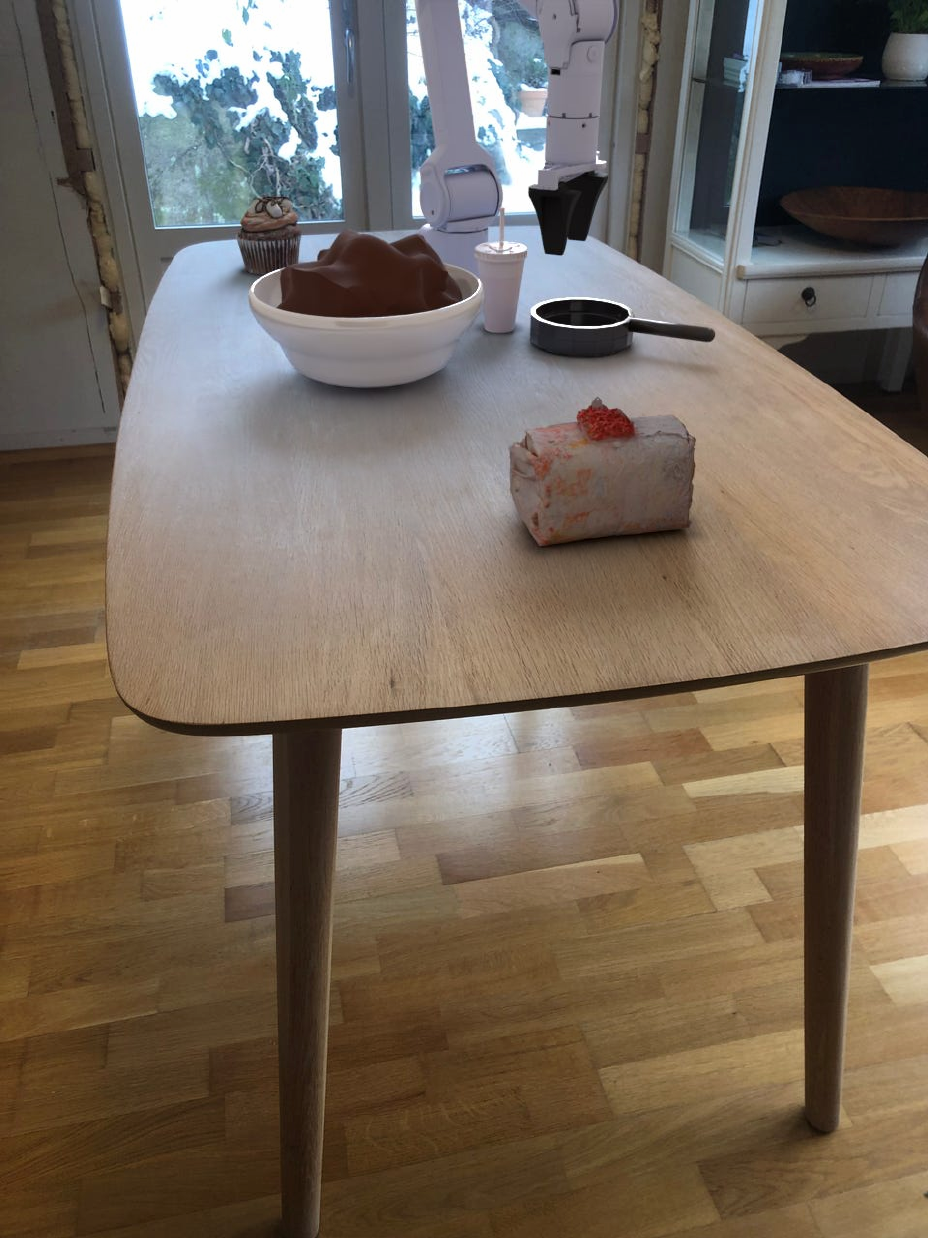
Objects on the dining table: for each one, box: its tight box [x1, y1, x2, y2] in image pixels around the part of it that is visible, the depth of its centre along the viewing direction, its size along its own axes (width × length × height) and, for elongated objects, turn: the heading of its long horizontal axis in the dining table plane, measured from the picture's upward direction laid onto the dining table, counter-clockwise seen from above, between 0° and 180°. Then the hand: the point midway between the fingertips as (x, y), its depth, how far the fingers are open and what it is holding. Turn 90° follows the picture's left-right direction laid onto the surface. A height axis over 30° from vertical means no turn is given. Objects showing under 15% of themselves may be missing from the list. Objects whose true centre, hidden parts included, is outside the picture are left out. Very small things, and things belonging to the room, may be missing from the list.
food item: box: [508, 396, 697, 547], centre depth 74 cm, size 14×8×10 cm, turn 102°
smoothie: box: [474, 206, 528, 334], centre depth 115 cm, size 6×6×14 cm
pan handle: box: [629, 317, 716, 343], centre depth 110 cm, size 11×2×2 cm, turn 65°
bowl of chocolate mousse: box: [247, 229, 485, 389], centre depth 102 cm, size 25×25×15 cm
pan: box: [529, 297, 636, 358], centre depth 114 cm, size 12×12×4 cm
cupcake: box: [235, 194, 303, 276], centre depth 141 cm, size 10×10×10 cm
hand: (565, 246), depth 111 cm, fingers open, 7 cm apart
